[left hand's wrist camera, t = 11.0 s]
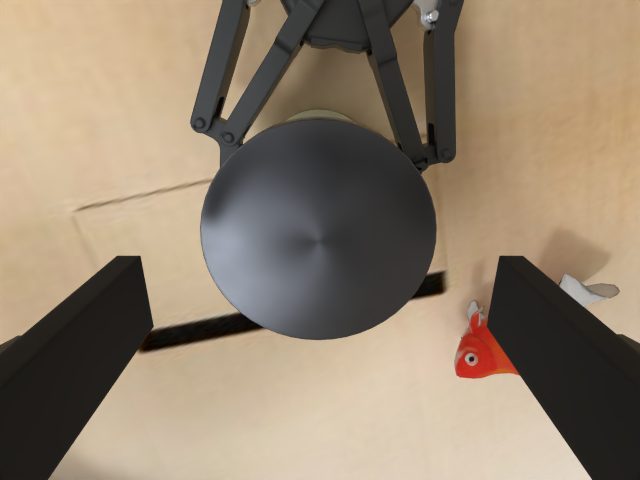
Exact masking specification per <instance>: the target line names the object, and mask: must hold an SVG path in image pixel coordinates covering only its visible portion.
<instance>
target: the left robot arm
mask: <svg viewBox="0 0 640 480" xmlns="http://www.w3.org/2000/svg"><path fill="white" fill-rule="evenodd" d="M153 327H154V326H153V321H152V315H151V310H150V305H149V299H148V294H147V289H146V283H145V278H144V273H143V267H142V262H141V256H116V257H115V258H114V259H113V260H112V261H110V262H109V263H108V264H107V265H106V266H104V267H103V268H102V269H101V270H100V271H98V272H97V273H96V274H95V275H94V276H93V277H91V278H90V279H89V280H88V281H87V282H85V283H84V284H83V285H82V286H81V287H79V288H78V289H77V290H76V291H75V292H73V293H72V294H71V295H70V296H69V297H67V298H66V299H65V300H64V301H63V302H61V303H60V304H59V305H58V306H57V307H55V308H54V309H53V310H52V311H51V312H50V313H48V314H47V315H46V316H45V317H44V318H42V319H41V320H40V321H39V322H38V323H36V324H35V325H34V326H33V327H32V328H30V329H29V330H28V331H27V332H26V333H24V334H23V335H22V336H16V337H15V338H13V339H11V340H9V341H7V342H5V343H3V344H1V345H0V480H48V479H49V477H50V476H51V474H52V473H53V471H54V470H55V468H56V467H57V466H58V464H59V463H60V461H61V460H62V458H63V457H64V455H65V454H66V453H67V451H68V450H69V448H70V447H71V445H72V444H73V442H74V441H75V440H76V438H77V437H78V435H79V434H80V432H81V431H82V429H83V428H84V427H85V425H86V424H87V422H88V421H89V419H90V418H91V416H92V415H93V414H94V412H95V411H96V409H97V408H98V406H99V405H100V403H101V402H102V401H103V399H104V398H105V396H106V395H107V393H108V392H109V390H110V389H111V388H112V386H113V385H114V383H115V382H116V380H117V379H118V377H119V376H120V375H121V373H122V372H123V370H124V369H125V367H126V366H127V364H128V363H129V361H130V360H131V359H132V357H133V356H134V354H135V353H136V351H137V350H138V348H139V347H140V346H141V344H142V343H143V341H144V340H145V338H146V337H147V335H148V334H149V333H150V331H151V330H152V328H153ZM486 327H487V328H488V330H489V331H490V333H491V334H492V335H493V337H494V338H495V340H496V341H497V343H498V344H499V346H500V347H501V348H502V350H503V351H504V353H505V354H506V356H507V357H508V359H509V360H510V361H511V363H512V364H513V366H514V367H515V369H516V370H517V372H518V373H519V375H520V376H521V377H522V379H523V380H524V382H525V383H526V385H527V386H528V388H529V389H530V390H531V392H532V393H533V395H534V396H535V398H536V399H537V401H538V402H539V403H540V405H541V406H542V408H543V409H544V411H545V412H546V414H547V415H548V416H549V418H550V419H551V421H552V422H553V424H554V425H555V427H556V428H557V429H558V431H559V432H560V434H561V435H562V437H563V438H564V440H565V441H566V442H567V444H568V445H569V447H570V448H571V450H572V451H573V453H574V454H575V455H576V457H577V458H578V460H579V461H580V463H581V464H582V466H583V467H584V468H585V470H586V471H587V473H588V474H589V476H590V477H591V479H592V480H640V343H638V342H636V341H634V340H632V339H630V338H628V337H627V336H625V335H623V334H616V333H614V332H613V331H612V330H611V329H610V328H608V327H607V326H606V325H605V324H604V323H602V322H601V321H600V320H599V319H598V318H596V317H595V316H594V315H593V314H592V313H590V312H589V311H588V310H587V309H586V308H585V307H583V306H582V305H581V304H580V303H579V302H577V301H576V300H575V299H574V298H573V297H571V296H570V295H569V294H568V293H567V292H565V291H564V290H563V289H562V288H561V287H559V286H558V285H557V284H556V283H555V282H553V281H552V280H551V279H550V278H549V277H547V276H546V275H545V274H544V273H543V272H541V271H540V270H539V269H538V268H537V267H536V266H534V265H533V264H532V263H531V262H530V261H528V260H527V259H526V258H525V257H524V256H499V262H498V267H497V272H496V278H495V283H494V289H493V294H492V299H491V305H490V310H489V315H488V321H487V326H486Z"/></svg>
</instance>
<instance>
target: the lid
mask: <svg viewBox="0 0 640 480" xmlns="http://www.w3.org/2000/svg"><path fill="white" fill-rule="evenodd" d="M436 230H437V226H436V215H435V210H434V205H433V201H432V198H431V195H430V192H429V190H428V187H427V185H426V183H425V181H424V179H423V178H422V176H421V174H420V172H419V171H418V169H417V168H416V167H415V166H414V164H413V163H412V162H411V160H410V159H409V158H408V157H407V156H406V155H405V154H404V153H403V152H402V151H401V150H400V149H399V148H398V147H396V146H395V145H394V144H393V143H391V142H390V141H388V140H387V139H386V138H384V137H383V136H382V135H380V134H379V133H377V132H375V131H373V130H371V129H369V128H368V127H366V126H363V125H361V124H358V123H355V122H352V121H349V120H345V119H340V118H335V117H322V116H315V117H302V118H297V119H292V120H287V121H285V122H282V123H279V124H276V125H273V126H271V127H269V128H267V129H265V130H264V131H262V132H260V133H258V134H257V135H255V136H254V137H253V138H251V139H250V140H248V141H247V142H246V143H244V144H243V145H242V146H240V147H239V148H238V149H237V150H236V151H235V152H234V153H233V154H232V155H231V156H230V157H229V158H228V159H227V160H226V161H225V163H224V164H223V165H222V167H221V168H220V169H219V170H218V172H217V174H216V176H215V177H214V179H213V181H212V183H211V184H210V187H209V189H208V192H207V194H206V197H205V201H204V205H203V209H202V214H201V225H200V232H201V244H202V250H203V255H204V258H205V261H206V264H207V267H208V270H209V272H210V274H211V276H212V278H213V280H214V282H215V283H216V285H217V286H218V288H219V290H220V291H221V293H222V294H223V295H224V296H225V297H226V299H227V300H228V301H229V302H230V303H231V304H232V305H233V306H234V307H235V308H236V309H237V310H238V311H239V312H241V313H242V314H243V315H245V316H246V317H247V318H249V319H250V320H252V321H253V322H255V323H257V324H259V325H260V326H262V327H264V328H266V329H269V330H271V331H274V332H276V333H279V334H282V335H286V336H289V337H294V338H300V339H310V340H327V339H337V338H343V337H348V336H351V335H355V334H358V333H361V332H363V331H366V330H368V329H371V328H373V327H375V326H377V325H378V324H380V323H382V322H384V321H385V320H387V319H388V318H390V317H391V316H392V315H394V314H395V313H396V312H397V311H399V310H400V309H401V308H402V307H403V306H404V305H405V304H406V303H407V302H408V301H409V300H410V298H411V297H412V296H413V295H414V294H415V292H416V291H417V289H418V288H419V286H420V285H421V283H422V282H423V280H424V278H425V276H426V274H427V272H428V270H429V267H430V264H431V261H432V258H433V254H434V249H435V244H436Z"/></svg>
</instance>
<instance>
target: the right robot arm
mask: <svg viewBox="0 0 640 480" xmlns="http://www.w3.org/2000/svg"><path fill="white" fill-rule="evenodd" d="M222 1H223V2H222V6H221V9H220V13H219V17H218V20H217V24H216V28H215V31H214V35H213V39H212V43H211V46H210V50H209V54H208V57H207V61H206V65H205V68H204V72H203V76H202V79H201V83H200V87H199V91H198V94H197V98H196V102H195V105H194V109H193V113H192V116H191V122H190V124H191V127H192V128H193V130H194V131H196V132H197V133H203V134H205V135H207V136H209V137H211V138H213V139H215V140H216V141H217V142H218V144H219V146H220V168H221V167H222V165H223V164H224V163H225V161H226V160H227V159H228V158H229V157H230V156H231V155H232V154H233V153H234V152H235V151H236V150H237V149H238V148H239V147H240V146H242V145H243V139H244V138H245V135H246V134H247V132H248V131H249V129H250V127H251V126H252V124H253V123H254V121H255V119H256V118H257V116H258V115H259V113H260V112H261V110H262V108H263V107H264V105H265V104H266V102H267V100H268V99H269V97H270V96H271V94H272V92H273V91H274V89H275V88H276V86H277V85H278V83H279V81H280V80H281V78H282V77H283V75H284V73H285V72H286V70H287V69H288V67H289V66H290V64H291V62H292V61H293V59H294V58H295V57H296V55H297V54H298V53H299V51H300V49H301V48H302V46H303V45H304V43H306V44H307V45H309V46H311V48H318V49H327V48H333V47H336V48H338V49H341V50H343V51H345V52H347V53H355V54H360V53H362V52H365V51H366V54H367V57H368V60H369V63H370V66H371V68H372V70H373V73H374V76H375V79H376V82H377V85H378V88H379V91H380V94H381V97H382V100H383V104H384V107H385V110H386V113H387V116H388V119H389V122H390V125H391V128H392V131H393V134H394V138H395V141H396V144H397V147H398V148H399V149H400V150H401V151H402V152H403V153H404V154H405V155H406V156H407V157H408V158H409V159H410V160H411V162H412V163H413V164H414V166H415V167H416V168H417V169H418V171H419V172H420V174H422V172H423V171H424V170H426V169H427V168H428V166H429V165H432V164H437V163H441V162H442V163H448V162H451V161H452V160H453V159H454V157H455V155H456V127H455V60H454V33H455V29H456V26H457V23H458V19H459V16H460V13H461V9H462V6H463V2H464V0H280V1H281V3H282V5H283V7H284V9H285V11H286V13H287V15H288V16H289V17H288V18H287V20H286V22H285V23H284V25H283V27H282V28H281V30H280V32H279V33H278V35H277V37H276V39H275V42H274V44H273V46H272V47H271V49H270V51H269V52H268V54H267V56H266V57H265V59H264V60H263V62H262V64H261V65H260V67H259V69H258V70H257V72H256V74H255V75H254V77H253V79H252V80H251V82H250V84H249V85H248V87H247V89H246V90H245V92H244V93H243V95H242V97H241V98H240V100H239V102H238V103H237V105H236V107H235V108H234V110H233V112H232V113H231V115H230V117H229V118H228V120H225V119H223V118H221V114H222V110H223V107H224V104H225V100H226V97H227V93H228V90H229V87H230V83H231V80H232V77H233V73H234V70H235V66H236V63H237V60H238V56H239V53H240V50H241V46H242V43H243V40H244V36H245V33H246V29H247V26H248V22H249V17H250V7H255V6H257V5H258V4H259V3H260V2H261V0H222ZM409 7H412V8H414V9H415V11H416V12H417V23H418V26H419V28H420V29H421V30H423V31H425V34H424V42H423V53H424V77H425V102H426V126H427V143H425V144H422V142H421V138H420V135H419V132H418V128H417V125H416V122H415V118H414V115H413V112H412V108H411V105H410V102H409V98H408V95H407V92H406V88H405V85H404V82H403V78H402V75H401V72H400V68H399V65H398V61H397V53H396V49H395V46H394V42H393V39H392V36H391V32H390V28H391V27H392V26H393V25H394V24H395V23H396V21H397V20H398V19H399V18H400V17H401V16H402V15H403V13H404V12H405V11H406V10H407V9H408V8H409Z"/></svg>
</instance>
